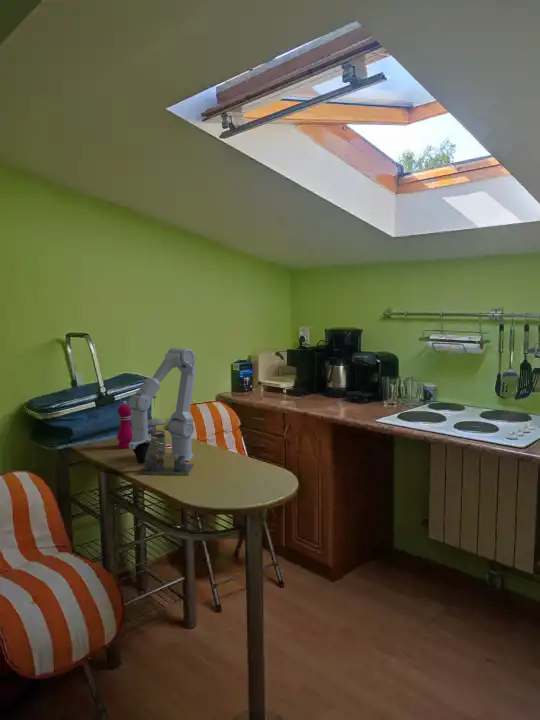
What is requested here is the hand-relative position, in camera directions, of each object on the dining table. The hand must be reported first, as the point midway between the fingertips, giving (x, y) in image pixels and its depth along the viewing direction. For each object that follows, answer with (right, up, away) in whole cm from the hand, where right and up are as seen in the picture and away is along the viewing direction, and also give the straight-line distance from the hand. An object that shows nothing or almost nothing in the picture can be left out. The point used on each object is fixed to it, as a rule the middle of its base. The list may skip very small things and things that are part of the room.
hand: (141, 462), depth 198 cm
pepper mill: (-14, +1, +32) cm, 35 cm away
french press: (+1, -1, +18) cm, 18 cm away
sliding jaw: (+4, -1, +2) cm, 5 cm away
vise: (+11, -3, 0) cm, 11 cm away
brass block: (+11, -2, -1) cm, 11 cm away
